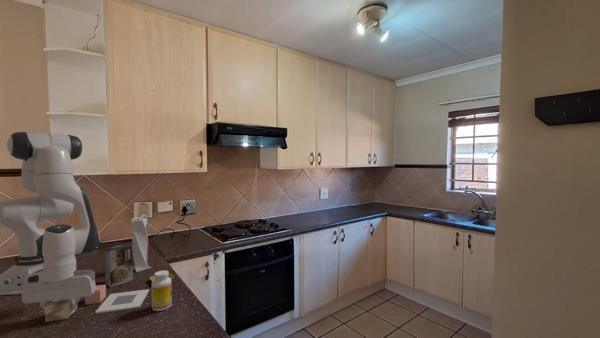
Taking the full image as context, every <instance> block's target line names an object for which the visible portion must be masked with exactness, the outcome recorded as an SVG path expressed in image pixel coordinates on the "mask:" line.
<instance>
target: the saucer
mask: <svg viewBox="0 0 600 338" xmlns="http://www.w3.org/2000/svg"><path fill="white" fill-rule="evenodd" d="M168 277H169V278H170V279H171V282H172V281H174V279H175V277H174V276H173V275H172V274H171V273H170V272H169V275H168ZM149 280H150V281H151V283H152V282H153V281H154V280H155V277H154V275H150V276H149Z"/></svg>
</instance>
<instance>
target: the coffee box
mask: <svg viewBox="0 0 600 338" xmlns="http://www.w3.org/2000/svg"><path fill="white" fill-rule="evenodd" d="M104 258H105V260H104V261H105V285H106V286H108V287H109V288H114V287H117V286H120V285H122V284H127V283H130V282H133V281H134V269H133V268H134V265H133V263H134V262H133V249H132V245H131V244H129V243H124V244H119V245H114V246H110V247H105V248H104Z"/></svg>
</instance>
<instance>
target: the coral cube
mask: <svg viewBox="0 0 600 338" xmlns="http://www.w3.org/2000/svg"><path fill="white" fill-rule="evenodd" d="M105 298H107V284H100V285H99V284H98V285H97V284H96V290H95V292H94V293H93V294H92V295H91V296H87V297H84V305H85V306H86V305H92V304H93V305H94V304H102V303H103V302H104V299H105Z"/></svg>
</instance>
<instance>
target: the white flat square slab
mask: <svg viewBox="0 0 600 338" xmlns="http://www.w3.org/2000/svg"><path fill="white" fill-rule="evenodd" d="M149 291H150V289H149V288H148V289H147V288H146V289H141V290H140V289H139V290H133V291H123V292H116V293H115V292H114V293H110V294H109V295H108V297H106V299H105V300H103V301H102V302H101V304H100V306H99V307H98V308H97V309H96V310H95V312H94V314H97V315H98V314H103V313H104V314H105V313H110V312H116V311H117V312H118V311H123V310H124V311H125V310H132V309H138V308H140V307H141V305H142V303H143V302H144V301H145V300H146V299H145V298H146V297H147V295H148V294H149Z"/></svg>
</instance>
